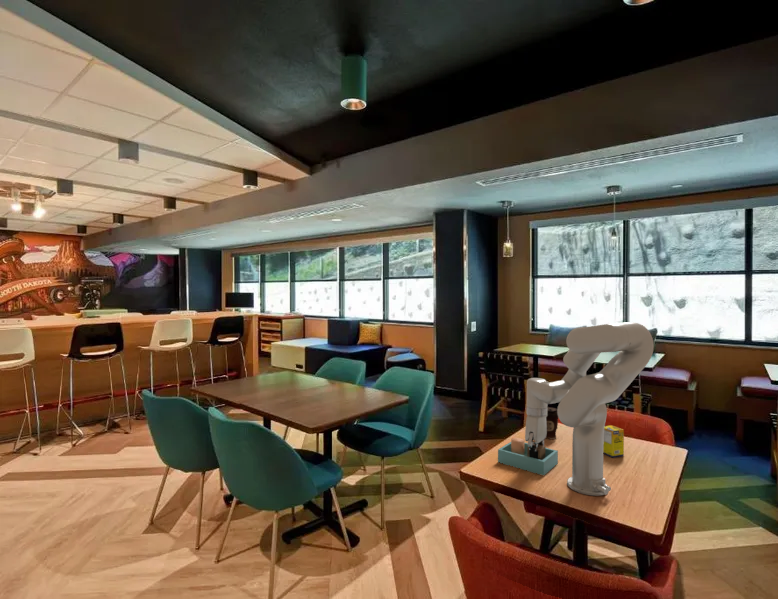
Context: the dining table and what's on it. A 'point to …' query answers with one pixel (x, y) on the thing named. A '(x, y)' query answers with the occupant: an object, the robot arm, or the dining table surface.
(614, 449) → the supplement box
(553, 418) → the coffee cup
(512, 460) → the tote
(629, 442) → the dining table surface
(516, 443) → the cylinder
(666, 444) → the dining table surface
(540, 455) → the cube
